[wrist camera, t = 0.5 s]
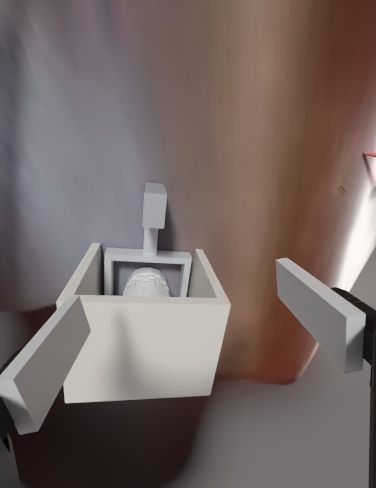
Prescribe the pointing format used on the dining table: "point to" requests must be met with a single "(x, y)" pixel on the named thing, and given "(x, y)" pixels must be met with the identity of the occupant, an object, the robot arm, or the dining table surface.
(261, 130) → the dining table surface
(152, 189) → the square frame with handle
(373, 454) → the robot arm
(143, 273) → the white cup
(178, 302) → the tunnel
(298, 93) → the dining table surface
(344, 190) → the figurine
